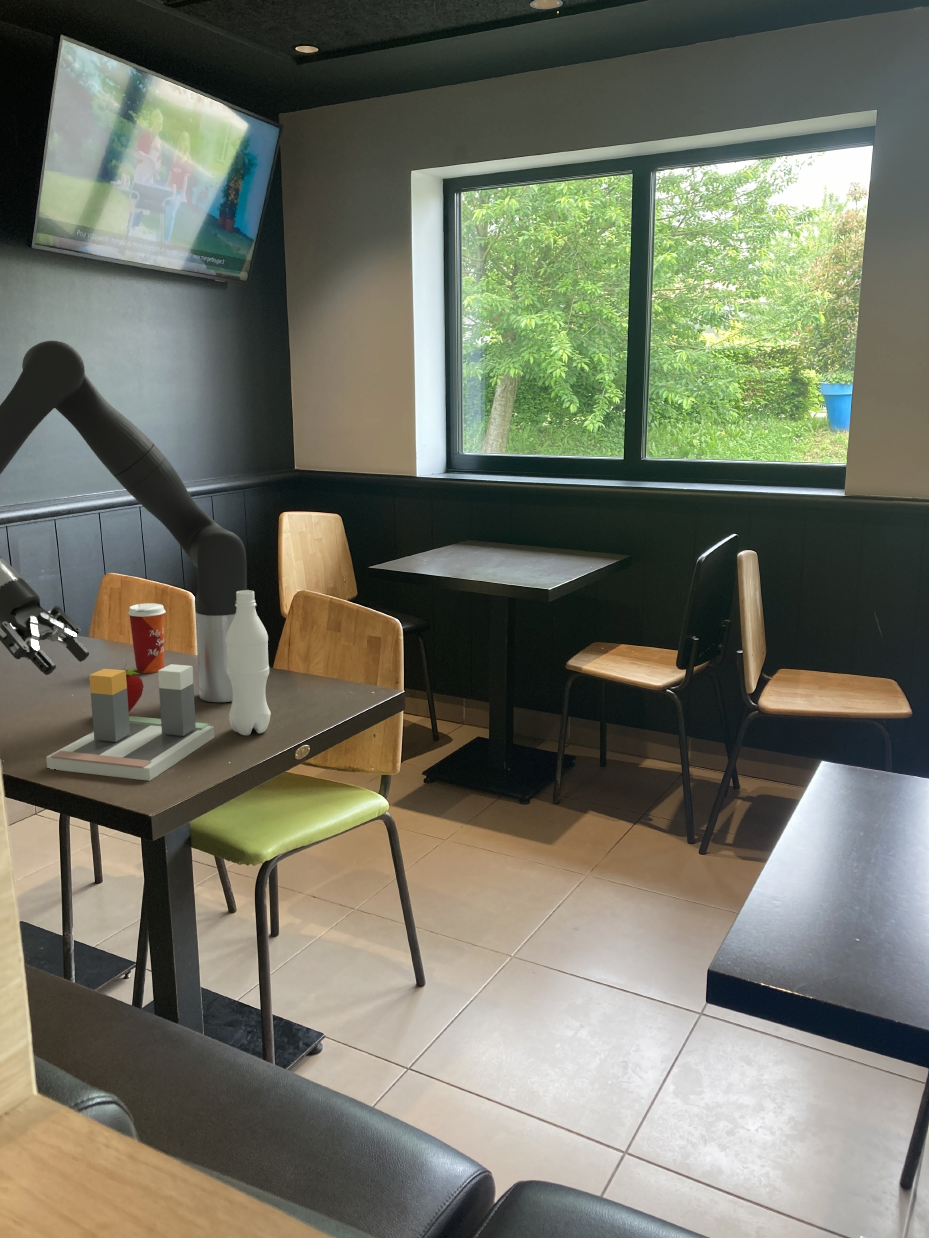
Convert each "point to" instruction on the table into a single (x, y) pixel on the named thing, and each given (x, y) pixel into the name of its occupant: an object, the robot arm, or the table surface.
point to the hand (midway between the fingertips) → (69, 664)
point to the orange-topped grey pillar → (109, 705)
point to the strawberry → (133, 688)
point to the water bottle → (248, 667)
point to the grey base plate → (144, 736)
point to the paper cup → (148, 636)
